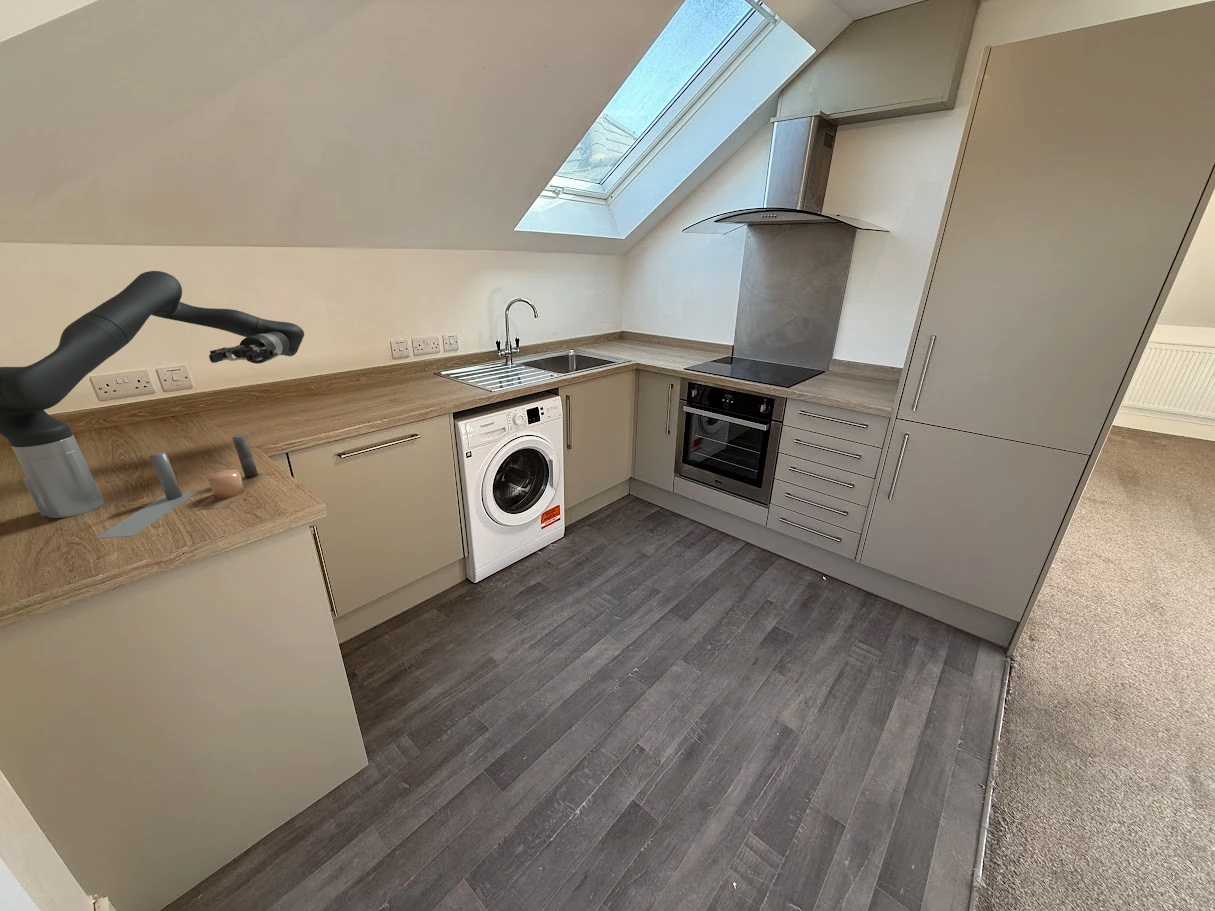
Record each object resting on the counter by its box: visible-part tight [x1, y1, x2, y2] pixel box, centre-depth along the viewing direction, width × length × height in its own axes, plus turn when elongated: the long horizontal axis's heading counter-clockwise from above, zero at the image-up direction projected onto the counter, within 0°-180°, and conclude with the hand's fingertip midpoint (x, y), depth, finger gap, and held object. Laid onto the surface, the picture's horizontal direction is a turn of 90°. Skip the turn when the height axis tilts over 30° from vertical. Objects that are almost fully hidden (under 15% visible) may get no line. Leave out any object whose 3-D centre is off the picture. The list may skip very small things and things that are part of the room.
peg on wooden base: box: [193, 434, 272, 511], centre depth 115 cm, size 7×20×12 cm, turn 9°
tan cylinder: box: [207, 468, 245, 499], centre depth 114 cm, size 6×6×5 cm
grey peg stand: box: [95, 451, 197, 540], centre depth 104 cm, size 7×20×12 cm, turn 9°
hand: (229, 358), depth 123 cm, fingers open, 8 cm apart
